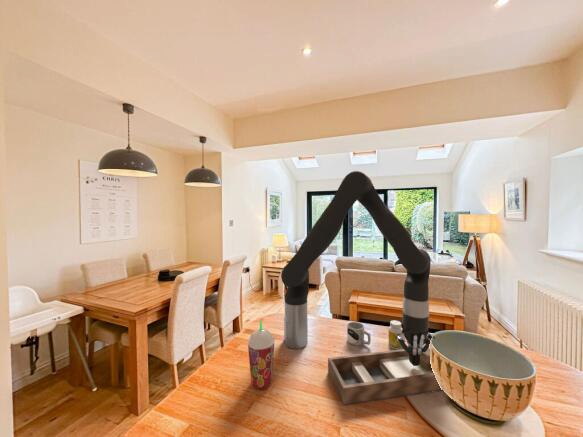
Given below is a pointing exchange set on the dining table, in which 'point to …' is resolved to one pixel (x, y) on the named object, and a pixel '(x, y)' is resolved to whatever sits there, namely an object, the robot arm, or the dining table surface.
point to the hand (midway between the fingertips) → (414, 364)
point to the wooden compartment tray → (378, 377)
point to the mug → (357, 334)
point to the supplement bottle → (394, 334)
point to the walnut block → (425, 360)
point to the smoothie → (261, 357)
